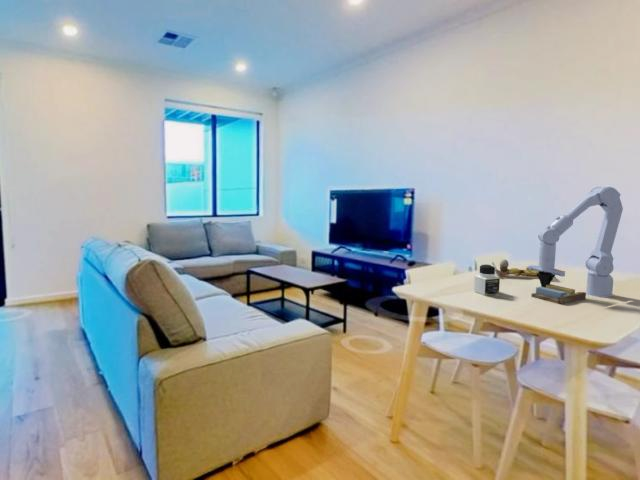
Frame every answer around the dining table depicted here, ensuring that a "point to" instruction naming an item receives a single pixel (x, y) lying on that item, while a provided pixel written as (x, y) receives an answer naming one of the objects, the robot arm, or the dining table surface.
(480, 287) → the medicine bottle
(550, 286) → the stick ochre
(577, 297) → the comb board
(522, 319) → the dining table surface
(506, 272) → the toy food set
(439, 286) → the dining table surface
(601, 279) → the robot arm
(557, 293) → the stick blue
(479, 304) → the dining table surface
